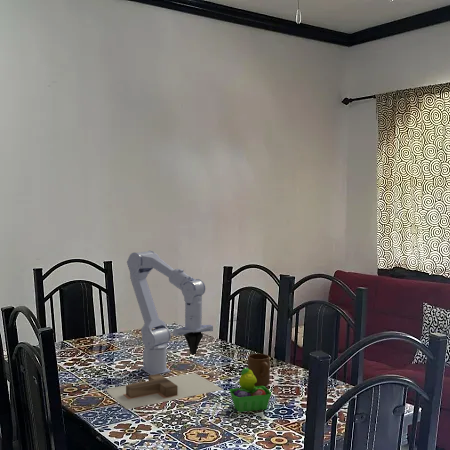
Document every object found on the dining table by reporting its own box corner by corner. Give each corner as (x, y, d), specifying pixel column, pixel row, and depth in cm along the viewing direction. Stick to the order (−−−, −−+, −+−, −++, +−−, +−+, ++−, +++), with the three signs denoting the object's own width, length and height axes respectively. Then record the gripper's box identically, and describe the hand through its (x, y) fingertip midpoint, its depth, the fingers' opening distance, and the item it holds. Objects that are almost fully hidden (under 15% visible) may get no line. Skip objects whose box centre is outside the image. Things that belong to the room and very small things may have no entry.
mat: (104, 390, 187) (104, 389, 187) (194, 374, 205) (194, 372, 205) (126, 410, 170) (126, 409, 170) (223, 390, 188) (223, 389, 188)
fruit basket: (235, 414, 167) (236, 376, 167) (227, 403, 176) (227, 367, 175) (272, 410, 170) (272, 373, 170) (262, 400, 179) (262, 365, 178)
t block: (120, 389, 187) (120, 380, 187) (159, 382, 195) (159, 373, 194) (136, 403, 175) (136, 393, 175) (177, 394, 183) (177, 385, 183)
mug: (277, 390, 188) (278, 362, 187) (256, 392, 185) (256, 364, 185) (265, 379, 199) (265, 352, 199) (244, 380, 197) (244, 354, 196)
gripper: (179, 319, 189) (179, 359, 190) (217, 315, 196) (217, 353, 197) (170, 315, 195) (170, 354, 196) (207, 311, 202) (207, 348, 203)
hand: (193, 353), depth 197 cm, fingers closed
